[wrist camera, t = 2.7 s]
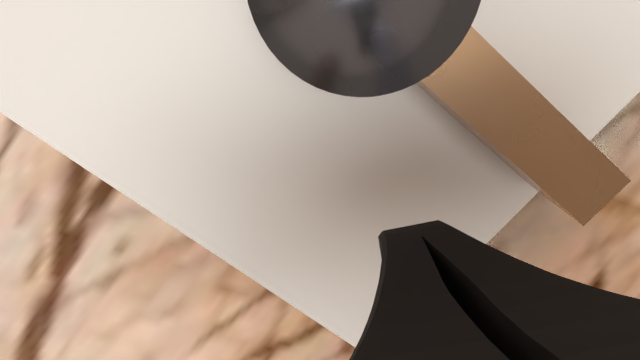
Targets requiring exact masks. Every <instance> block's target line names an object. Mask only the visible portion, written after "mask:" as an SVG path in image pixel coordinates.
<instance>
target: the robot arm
mask: <svg viewBox="0 0 640 360" xmlns="http://www.w3.org/2000/svg"><path fill="white" fill-rule="evenodd" d="M378 239H379V246H380V252H381V259H382V261H381V269H380V277H379V282H378V286H377V290H376V294H375V299H374V303H373V306H372V309H371V312H370V315H369V318H368V321H367V323H366V326H365V328H364V331H363V333H362V335H361V338H360V340H359V342H358V344H357V346H356V348H355V350H354V352H353V354H352V356H351V358H350V360H640V299H636V298H632V297H628V296H624V295H620V294H616V293H612V292H609V291H605V290H601V289H598V288H594V287H591V286H588V285H585V284H582V283H579V282H576V281H573V280H570V279H567V278H564V277H561V276H558V275H555V274H553V273H550V272H547V271H545V270H542V269H540V268H537V267H535V266H533V265H530V264H528V263H525V262H523V261H521V260H518V259H516V258H514V257H512V256H509V255H507V254H505V253H503V252H501V251H499V250H497V249H495V248H493V247H491V246H489V245H487V244H485V243H483V242H481V241H479V240H477V239H475V238H473V237H471V236H469V235H467V234H465V233H463V232H462V231H460V230H458V229H456V228H454V227H452V226H450V225H448V224H446V223H444V222H442V221H439V220H436V221H431V222H426V223H420V224H415V225H410V226H405V227H400V228H395V229H389V230H384V231H382V232H381V233H380V235H379V236H378Z"/></svg>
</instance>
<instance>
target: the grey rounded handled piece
mask: <svg viewBox="0 0 640 360" xmlns="http://www.w3.org/2000/svg"><path fill="white" fill-rule="evenodd" d="M247 1H248V5H249V9H250V12H251V15H252V18H253V21H254V23H255V25H256V27H257V29H258V31H259V33H260V35H261V37H262V39H263V40H264V42H265V43H266V45H267V47H268V48H269V49H270V51H271V52H272V53H273V54H274V56H275V57H276V58H277V59H278V60H279V61H280V62H281V63H282V64H283V65H284V66H285V67H286V68H287V69H288V70H289V71H290V72H292V73H293V74H294V75H296V76H297V77H299V78H300V79H301V80H303V81H305V82H307V83H308V84H310V85H312V86H314V87H316V88H319V89H321V90H324V91H327V92H329V93H333V94H338V95H342V96H350V97H375V96H381V95H387V94H390V93H394V92H397V91H400V90H403V89H405V88H407V87H410V86H412V85H414V84H417V85H418V86H419V87H420V88H421V89H423V90H424V91H425V92H426V93H427V94H428V95H429V96H430V97H432V98H433V99H434V100H435V101H436V102H437V103H438V104H439V105H441V106H442V107H443V108H444V109H445V110H446V111H447V112H448V113H450V114H451V115H452V116H453V117H454V118H455V119H456V120H458V121H459V122H460V123H461V124H462V125H463V126H464V127H465V128H467V129H468V130H469V131H470V132H471V133H472V134H473V135H474V136H476V137H477V138H478V139H479V140H480V141H481V142H482V143H483V144H485V145H486V146H487V147H488V148H489V149H490V150H491V151H492V152H494V153H495V154H496V155H497V156H498V157H499V158H500V159H501V160H503V161H504V162H505V163H506V164H507V165H508V166H509V167H510V168H512V169H513V170H514V171H515V172H516V173H517V174H518V175H519V176H521V177H522V178H523V179H524V180H525V181H526V182H527V183H528V184H530V185H531V186H532V187H533V188H535V189H536V190H537V191H539V192H540V193H541V194H543V195H544V196H545V197H546V198H548V199H549V200H550V201H552V202H553V203H554V204H556V205H557V206H558V207H560V208H561V209H562V210H564V211H565V212H566V213H568V214H569V215H570V216H571V217H573V218H574V219H575V220H577V221H578V222H579V223H581V224H582V225H583V226H584V225H585V224H586V223H587V222H588V221H589V220H590V219H591V218H592V217H593V216H594V215H595V214H596V213H597V212H598V211H600V210H601V209H602V208H603V207H604V206H605V205H606V204H607V203H608V202H609V201H610V200H611V199H612V198H613V197H614V196H615V195H616V194H617V193H618V192H620V191H621V190H622V189H623V188H624V187H625V186H626V185H627V184H628V183H629V182H630V180H629V179H628V178H627V177H626V176H625V175H624V174H623V173H622V172H621V171H620V170H619V169H618V168H617V167H616V166H615V165H614V164H613V163H612V162H611V161H610V160H609V159H608V158H607V157H606V156H605V155H604V154H603V153H601V152H600V151H599V150H598V149H597V148H596V147H595V146H594V145H593V144H592V143H591V142H590V141H589V140H588V139H587V138H586V137H585V136H584V135H583V134H582V133H581V132H580V131H579V130H578V129H577V128H576V127H575V126H574V125H573V124H572V123H571V122H570V121H569V120H567V119H566V118H565V117H564V116H563V115H562V114H561V113H560V112H559V111H558V110H557V109H556V108H555V107H554V106H553V105H552V104H551V103H550V102H549V101H548V100H547V99H546V98H545V97H544V96H543V95H542V94H541V93H540V92H539V91H538V90H537V89H536V88H534V87H533V86H532V85H531V84H530V83H529V82H528V81H527V80H526V79H525V78H524V77H523V76H522V75H521V74H520V73H519V72H518V71H517V70H516V69H515V68H514V67H513V66H512V65H511V64H510V63H509V62H508V61H507V60H506V59H505V58H504V57H503V56H501V55H500V54H499V53H498V52H497V51H496V50H495V49H494V48H493V47H492V46H491V45H490V44H489V43H488V42H487V41H486V40H485V39H484V38H483V37H482V36H481V35H480V34H479V33H478V32H477V31H476V30H475V29H474V28H473V27H472V26H471V25H472V23H473V21H474V19H475V16H476V14H477V11H478V8H479V5H480V2H481V0H247Z"/></svg>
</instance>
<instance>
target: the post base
mask: <svg viewBox="0 0 640 360" xmlns="http://www.w3.org/2000/svg"><path fill="white" fill-rule="evenodd" d="M471 26H472V27H473V28H474V29H475V30H476V31H477V32H478V33H479V34H480V35H481V36H482V37H483V38H484V39H485V40H486V41H487V42H488V43H489V44H490V45H491V46H492V47H493V48H494V49H495V50H496V51H497V52H498V53H499V54H500V55H501V56H503V57H504V58H505V59H506V60H507V61H508V62H509V63H510V64H511V65H512V66H513V67H514V68H515V69H516V70H517V71H518V72H519V73H520V74H521V75H522V76H523V77H524V78H525V79H526V80H527V81H528V82H529V83H530V84H531V85H532V86H533V87H534V88H536V89H537V90H538V91H539V92H540V93H541V94H542V95H543V96H544V97H545V98H546V99H547V100H548V101H549V102H550V103H551V104H552V105H553V106H554V107H555V108H556V109H557V110H558V111H559V112H560V113H561V114H562V115H563V116H564V117H565V118H566V119H567V120H569V121H570V122H571V123H572V124H573V125H574V126H575V127H576V128H577V129H578V130H579V131H580V132H581V133H582V134H583V135H584V136H585V137H586V138H587V139H588V140H589V141H590V140H591V139H592V138H593V137H594V136H595V135H596V134H597V133H598V132H599V131H600V130H601V129H602V128H603V127H604V126H605V125H606V124H607V123H608V122H609V121H610V120H611V119H612V118H613V117H614V116H615V115H616V114H617V113H618V112H620V111H621V110H622V109H623V108H624V107H625V106H626V105H627V104H628V103H629V102H630V101H631V100H632V99H633V98H634V97H635V96H636V95H637V94H638V93H639V92H640V0H481V2H480V5H479V8H478V11H477V14H476V16H475V19H474V21H473V23H472V25H471ZM0 113H2V114H3V115H5V116H6V117H8V118H9V119H11V120H12V121H14V122H15V123H17V124H18V125H20V126H21V127H23V128H25V129H26V130H28V131H29V132H31V133H32V134H34V135H35V136H37V137H38V138H40V139H41V140H43V141H44V142H46V143H47V144H49V145H50V146H52V147H53V148H55V149H56V150H58V151H59V152H61V153H62V154H64V155H65V156H67V157H68V158H70V159H71V160H73V161H74V162H76V163H77V164H79V165H80V166H82V167H83V168H85V169H86V170H88V171H89V172H91V173H92V174H94V175H95V176H97V177H99V178H100V179H102V180H103V181H105V182H106V183H108V184H109V185H111V186H112V187H114V188H115V189H117V190H118V191H120V192H121V193H123V194H124V195H126V196H127V197H129V198H130V199H132V200H133V201H135V202H136V203H138V204H139V205H141V206H142V207H144V208H145V209H147V210H148V211H150V212H151V213H153V214H154V215H156V216H157V217H159V218H160V219H162V220H163V221H165V222H166V223H168V224H169V225H171V226H172V227H174V228H176V229H177V230H179V231H180V232H182V233H183V234H185V235H186V236H188V237H189V238H191V239H192V240H194V241H195V242H197V243H198V244H200V245H201V246H203V247H204V248H206V249H207V250H209V251H210V252H212V253H213V254H215V255H216V256H218V257H219V258H221V259H222V260H224V261H225V262H227V263H228V264H230V265H231V266H233V267H234V268H236V269H237V270H239V271H240V272H242V273H243V274H245V275H246V276H248V277H250V278H251V279H253V280H254V281H256V282H257V283H259V284H260V285H262V286H263V287H265V288H266V289H268V290H269V291H271V292H272V293H274V294H275V295H277V296H278V297H280V298H281V299H283V300H284V301H286V302H287V303H289V304H290V305H292V306H293V307H295V308H296V309H298V310H299V311H301V312H302V313H304V314H305V315H307V316H308V317H310V318H311V319H313V320H314V321H316V322H317V323H319V324H320V325H322V326H323V327H325V328H327V329H328V330H330V331H331V332H333V333H334V334H336V335H337V336H339V337H340V338H342V339H343V340H345V341H346V342H348V343H349V344H351V345H352V346H354V347H355V348H356V346H357V344H358V342H359V340H360V338H361V335H362V333H363V331H364V328H365V326H366V323H367V321H368V318H369V315H370V312H371V309H372V306H373V303H374V299H375V294H376V290H377V286H378V282H379V277H380V269H381V261H382V259H381V252H380V246H379V239H378V236H379V235H380V233H381V232H382V231H384V230H389V229H395V228H400V227H405V226H410V225H415V224H420V223H426V222H431V221H436V220H439V221H442V222H444V223H446V224H448V225H450V226H452V227H454V228H456V229H458V230H460V231H462V232H463V233H465V234H467V235H469V236H471V237H473V238H475V239H477V240H479V241H481V242H483V243H485V244H487V243H488V242H489V241H490V240H491V239H492V238H493V237H494V236H495V235H496V234H497V233H498V232H499V231H500V230H501V229H502V228H503V227H504V226H505V225H506V224H507V223H508V222H509V221H510V220H511V219H512V218H513V217H514V216H515V215H516V214H517V213H518V212H519V211H520V210H521V209H522V208H523V207H524V206H525V205H526V204H527V203H528V202H529V201H530V200H531V199H532V198H533V197H534V196H535V195H536V194H537V193H538V192H539V191H537V190H536V189H535V188H533V187H532V186H531V185H530V184H528V183H527V182H526V181H525V180H524V179H523V178H522V177H521V176H519V175H518V174H517V173H516V172H515V171H514V170H513V169H512V168H510V167H509V166H508V165H507V164H506V163H505V162H504V161H503V160H501V159H500V158H499V157H498V156H497V155H496V154H495V153H494V152H492V151H491V150H490V149H489V148H488V147H487V146H486V145H485V144H483V143H482V142H481V141H480V140H479V139H478V138H477V137H476V136H474V135H473V134H472V133H471V132H470V131H469V130H468V129H467V128H465V127H464V126H463V125H462V124H461V123H460V122H459V121H458V120H456V119H455V118H454V117H453V116H452V115H451V114H450V113H448V112H447V111H446V110H445V109H444V108H443V107H442V106H441V105H439V104H438V103H437V102H436V101H435V100H434V99H433V98H432V97H430V96H429V95H428V94H427V93H426V92H425V91H424V90H423V89H421V88H420V87H419V86H418V85H417V84H414V85H412V86H410V87H407V88H405V89H403V90H400V91H397V92H394V93H390V94H387V95H381V96H375V97H350V96H342V95H338V94H333V93H329V92H327V91H324V90H321V89H319V88H316V87H314V86H312V85H310V84H308V83H307V82H305V81H303V80H301V79H300V78H299V77H297V76H296V75H294V74H293V73H292V72H290V71H289V70H288V69H287V68H286V67H285V66H284V65H283V64H282V63H281V62H280V61H279V60H278V59H277V58H276V57H275V56H274V54H273V53H272V52H271V51H270V49H269V48H268V47H267V45H266V43H265V42H264V40H263V39H262V37H261V35H260V33H259V31H258V29H257V27H256V25H255V23H254V21H253V18H252V15H251V12H250V9H249V5H248V1H247V0H0Z"/></svg>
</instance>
